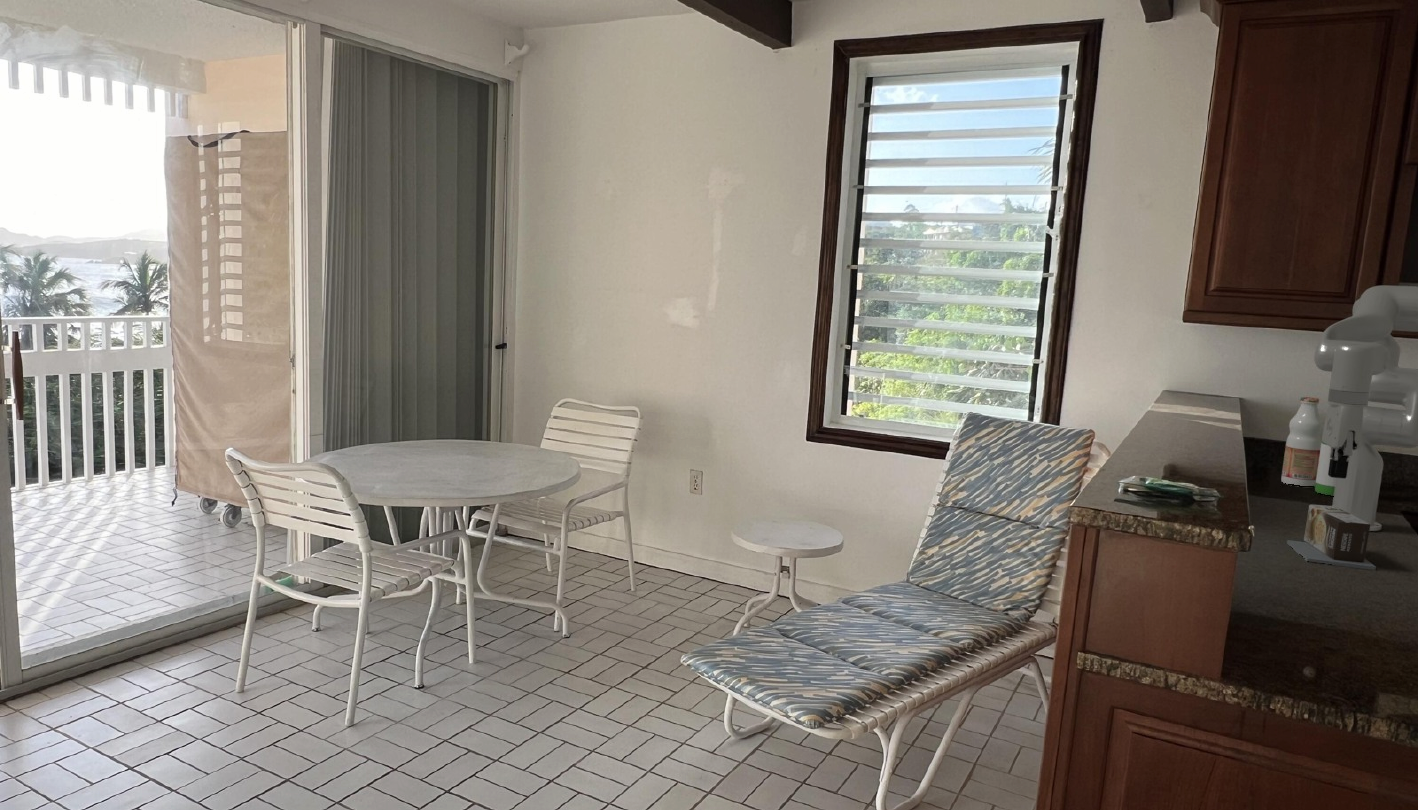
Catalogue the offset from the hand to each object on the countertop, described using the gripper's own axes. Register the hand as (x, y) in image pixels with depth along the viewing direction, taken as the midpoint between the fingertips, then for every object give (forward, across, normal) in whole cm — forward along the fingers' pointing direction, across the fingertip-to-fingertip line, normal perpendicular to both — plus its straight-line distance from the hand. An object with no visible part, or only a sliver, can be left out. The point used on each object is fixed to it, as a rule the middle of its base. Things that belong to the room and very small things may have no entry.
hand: (1336, 477), depth 209 cm
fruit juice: (+20, -90, +18) cm, 93 cm away
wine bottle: (+20, -76, +23) cm, 82 cm away
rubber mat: (+18, +3, 0) cm, 18 cm away
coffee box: (+13, -7, 0) cm, 15 cm away
